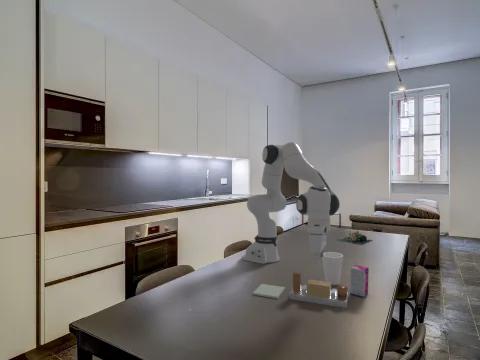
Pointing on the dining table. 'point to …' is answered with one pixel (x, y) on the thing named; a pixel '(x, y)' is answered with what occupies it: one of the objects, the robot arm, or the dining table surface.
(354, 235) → the plated dish
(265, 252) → the robot arm
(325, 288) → the tan upright box
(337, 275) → the foam cup
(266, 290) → the sage mat
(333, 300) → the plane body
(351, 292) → the supplement box
